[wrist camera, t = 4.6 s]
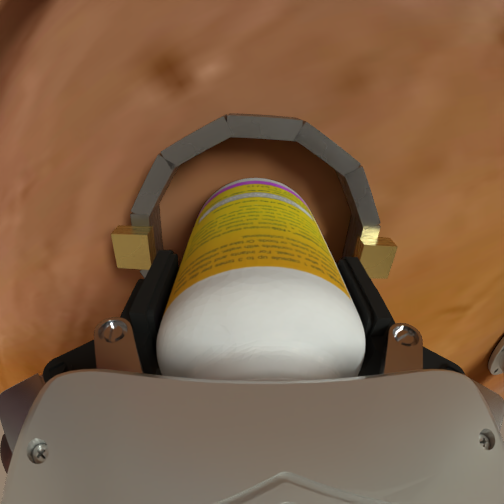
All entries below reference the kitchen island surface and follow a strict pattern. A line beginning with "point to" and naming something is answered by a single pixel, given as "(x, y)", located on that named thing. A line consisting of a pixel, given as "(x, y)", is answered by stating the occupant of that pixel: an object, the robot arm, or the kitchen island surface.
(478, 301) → the kitchen island surface
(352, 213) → the collar
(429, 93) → the kitchen island surface
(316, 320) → the supplement bottle
